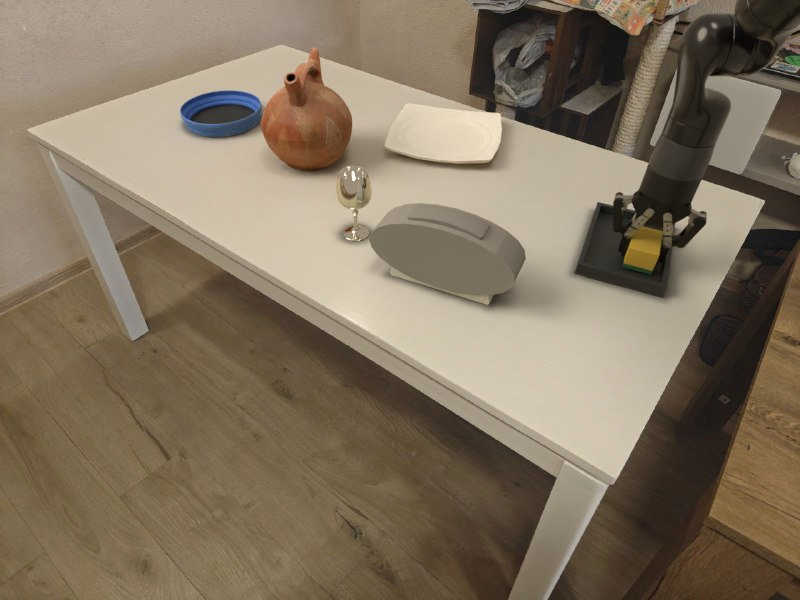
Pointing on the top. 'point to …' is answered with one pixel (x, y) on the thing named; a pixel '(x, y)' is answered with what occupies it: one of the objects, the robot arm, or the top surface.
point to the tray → (617, 256)
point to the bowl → (221, 113)
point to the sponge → (643, 250)
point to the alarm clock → (448, 250)
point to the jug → (307, 120)
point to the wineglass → (354, 197)
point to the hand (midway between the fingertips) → (639, 257)
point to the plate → (445, 134)
